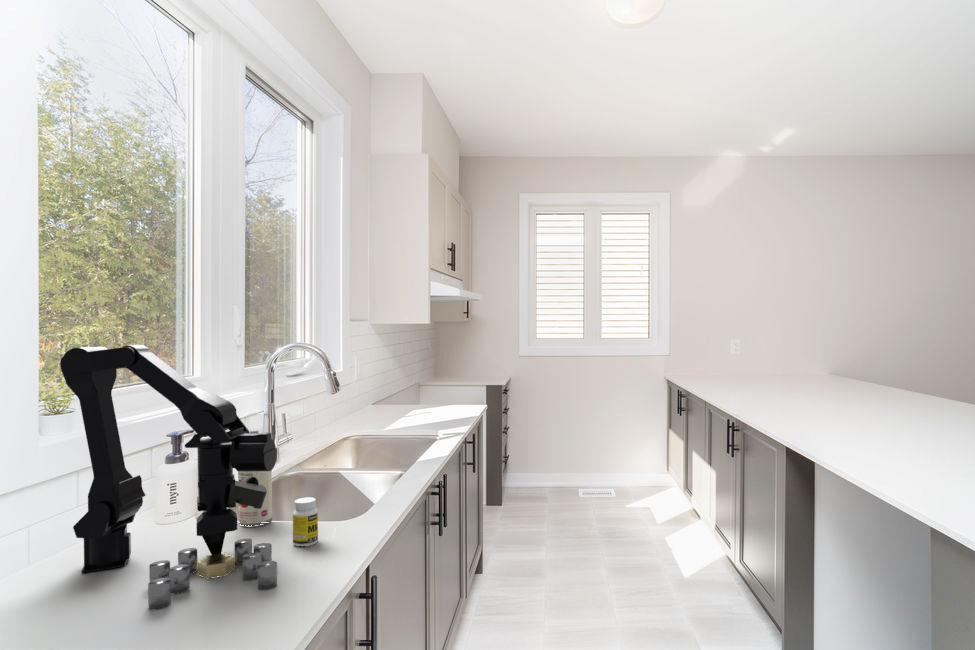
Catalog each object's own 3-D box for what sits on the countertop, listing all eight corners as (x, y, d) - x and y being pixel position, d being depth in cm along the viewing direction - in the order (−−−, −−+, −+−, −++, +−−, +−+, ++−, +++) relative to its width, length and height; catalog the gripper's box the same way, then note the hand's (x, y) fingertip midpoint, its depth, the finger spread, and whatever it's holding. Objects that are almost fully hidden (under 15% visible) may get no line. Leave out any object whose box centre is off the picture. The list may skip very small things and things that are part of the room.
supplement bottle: (310, 548, 112) (310, 504, 112) (288, 546, 113) (287, 503, 113) (322, 539, 117) (321, 497, 117) (300, 537, 118) (300, 496, 118)
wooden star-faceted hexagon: (212, 582, 98) (211, 567, 98) (193, 574, 101) (193, 560, 101) (239, 571, 102) (239, 557, 102) (220, 564, 105) (220, 551, 105)
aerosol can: (232, 523, 127) (231, 431, 127) (260, 514, 132) (259, 426, 133) (250, 529, 123) (248, 434, 123) (278, 520, 128) (277, 429, 128)
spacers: (143, 613, 87) (143, 590, 87) (152, 573, 101) (152, 553, 101) (278, 587, 95) (277, 565, 95) (269, 553, 110) (268, 534, 110)
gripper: (268, 477, 100) (269, 568, 100) (258, 456, 117) (260, 534, 117) (195, 486, 95) (197, 581, 95) (196, 462, 112) (198, 544, 112)
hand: (216, 558), depth 105 cm, fingers closed
